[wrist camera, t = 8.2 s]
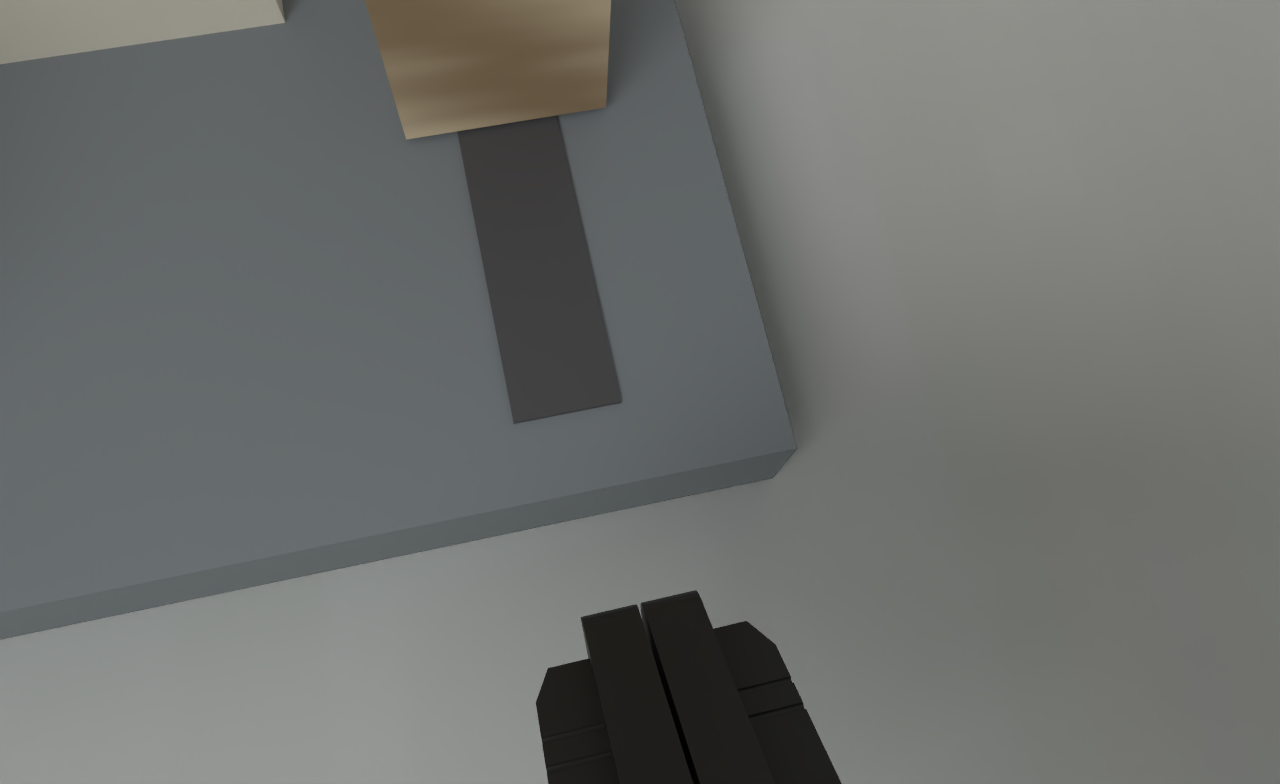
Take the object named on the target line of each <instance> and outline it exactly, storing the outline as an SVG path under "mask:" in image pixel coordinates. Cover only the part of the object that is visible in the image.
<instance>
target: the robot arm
mask: <svg viewBox="0 0 1280 784" xmlns="http://www.w3.org/2000/svg"><path fill="white" fill-rule="evenodd" d="M641 615H642V618H641ZM641 615H640V612H639V609H638V606H637V605H636V604H635V605H631V606H627V607H623V608H618V609H614V610H610V611H605V612H601V613H597V614H592V615H588V616H584V617H581V622H582V627H583V632H584V637H585V642H586V648H587V653H588V658H589V659H585V660H581V661H577V662H573V663H568V664H564V665H560V666H556V667H552V668H548V670H547V673H546V676H545V678H544V681H543V684H542V687H541V690H540V693H539V696H538V698H537V701H536V706H537V712H538V719H539V725H540V732H541V738H542V743H543V751H544V757H545V764H546V769H547V777H548V783H549V784H841V782H840V780H839V778H838V775H837V773H836V771H835V769H834V767H833V765H832V763H831V761H830V759H829V756H828V754H827V752H826V750H825V748H824V746H823V744H822V742H821V740H820V737H819V735H818V733H817V731H816V729H815V727H814V725H813V723H812V721H811V718H810V716H809V714H808V712H807V710H806V709H804V706H803V702H802V699H801V697H800V695H799V693H798V691H797V689H796V687H795V685H794V683H792V681H791V676H790V674H789V672H788V670H787V668H786V666H785V664H784V661H783V659H782V657H781V655H780V653H779V651H778V649H777V647H776V645H775V644H774V643H773V642H772V641H770V640H769V639H768V638H767V637H765V636H764V635H763V634H762V633H761V632H759V631H758V630H757V629H756V628H754V627H753V626H752V625H751V624H750V623H748V622H747V621H745V622H740V623H736V624H732V625H728V626H723V627H719V628H715V629H713V628H712V625H711V623H710V620H709V618H708V615H707V613H706V610H705V608H704V605H703V603H702V600H701V598H700V596H699V594H698V592H697V591H696V590H695V591H690V592H686V593H682V594H677V595H673V596H669V597H665V598H660V599H656V600H652V601H647V602H643V603H641Z"/></svg>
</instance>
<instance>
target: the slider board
mask: <svg viewBox="0 0 1280 784" xmlns="http://www.w3.org/2000/svg"><path fill="white" fill-rule="evenodd" d="M796 449H797V446H796V442H795V438H794V435H793V431H792V427H791V424H790V420H789V416H788V413H787V409H786V405H785V402H784V398H783V394H782V391H781V387H780V383H779V380H778V376H777V372H776V369H775V365H774V362H773V358H772V354H771V351H770V347H769V343H768V340H767V336H766V332H765V329H764V325H763V321H762V318H761V314H760V310H759V307H758V303H757V299H756V296H755V292H754V288H753V285H752V281H751V277H750V274H749V270H748V266H747V263H746V259H745V255H744V252H743V248H742V244H741V241H740V237H739V233H738V230H737V226H736V222H735V219H734V215H733V211H732V208H731V204H730V200H729V197H728V193H727V189H726V186H725V182H724V179H723V175H722V171H721V168H720V164H719V160H718V157H717V153H716V149H715V146H714V142H713V138H712V135H711V131H710V127H709V124H708V120H707V116H706V113H705V109H704V105H703V102H702V98H701V94H700V91H699V87H698V83H697V80H696V76H695V72H694V69H693V65H692V61H691V58H690V54H689V50H688V47H687V43H686V39H685V36H684V32H683V28H682V25H681V21H680V17H679V14H678V10H677V6H676V3H675V0H611V13H610V34H609V55H608V76H607V98H606V108H600V109H593V110H587V111H581V112H575V113H568V114H562V115H556V116H550V117H544V118H537V119H531V120H525V121H519V122H513V123H506V124H500V125H494V126H488V127H482V128H475V129H469V130H463V131H457V132H451V133H444V134H438V135H432V136H426V137H420V138H413V139H407V140H406V137H405V134H404V130H403V127H402V124H401V120H400V117H399V114H398V110H397V107H396V104H395V100H394V97H393V93H392V90H391V87H390V83H389V80H388V77H387V73H386V70H385V67H384V63H383V60H382V56H381V53H380V50H379V46H378V43H377V40H376V36H375V33H374V30H373V26H372V23H371V20H370V16H369V13H368V9H367V6H366V3H365V0H0V639H4V638H9V637H14V636H19V635H23V634H28V633H33V632H38V631H43V630H47V629H52V628H57V627H62V626H67V625H71V624H76V623H81V622H86V621H90V620H95V619H100V618H105V617H110V616H114V615H119V614H124V613H129V612H134V611H138V610H143V609H148V608H153V607H157V606H162V605H167V604H172V603H177V602H181V601H186V600H191V599H196V598H201V597H205V596H210V595H215V594H220V593H224V592H229V591H234V590H239V589H244V588H248V587H253V586H258V585H263V584H268V583H272V582H277V581H282V580H287V579H291V578H296V577H301V576H306V575H311V574H315V573H320V572H325V571H330V570H335V569H339V568H344V567H349V566H354V565H358V564H363V563H368V562H373V561H378V560H382V559H387V558H392V557H397V556H402V555H406V554H411V553H416V552H421V551H425V550H430V549H435V548H440V547H445V546H449V545H454V544H459V543H464V542H468V541H473V540H478V539H483V538H488V537H492V536H497V535H502V534H507V533H512V532H516V531H521V530H526V529H531V528H535V527H540V526H545V525H550V524H555V523H559V522H564V521H569V520H574V519H579V518H583V517H588V516H593V515H598V514H602V513H607V512H612V511H617V510H622V509H626V508H631V507H636V506H641V505H646V504H650V503H655V502H660V501H665V500H669V499H674V498H679V497H684V496H689V495H693V494H698V493H703V492H708V491H713V490H717V489H722V488H727V487H732V486H736V485H741V484H746V483H751V482H756V481H760V480H765V479H770V478H773V477H774V476H775V475H776V473H777V472H778V471H779V470H780V468H781V467H782V466H783V465H784V464H785V462H786V461H787V460H788V459H789V458H790V456H791V455H792V454H793V453H794V451H795V450H796Z"/></svg>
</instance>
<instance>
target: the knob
mask: <svg viewBox="0 0 1280 784" xmlns="http://www.w3.org/2000/svg"><path fill="white" fill-rule="evenodd" d="M365 3H366V6H367V9H368V13H369V16H370V20H371V23H372V26H373V30H374V33H375V36H376V40H377V43H378V46H379V50H380V53H381V56H382V60H383V63H384V67H385V70H386V73H387V77H388V80H389V83H390V87H391V90H392V93H393V97H394V100H395V104H396V107H397V110H398V114H399V117H400V120H401V124H402V127H403V130H404V134H405V137H406V140H407V139H413V138H420V137H426V136H432V135H438V134H444V133H451V132H457V131H463V130H469V129H475V128H482V127H488V126H494V125H500V124H506V123H513V122H519V121H525V120H531V119H537V118H544V117H550V116H556V115H562V114H568V113H575V112H581V111H587V110H593V109H600V108H606V98H607V76H608V55H609V34H610V13H611V0H365Z"/></svg>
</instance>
